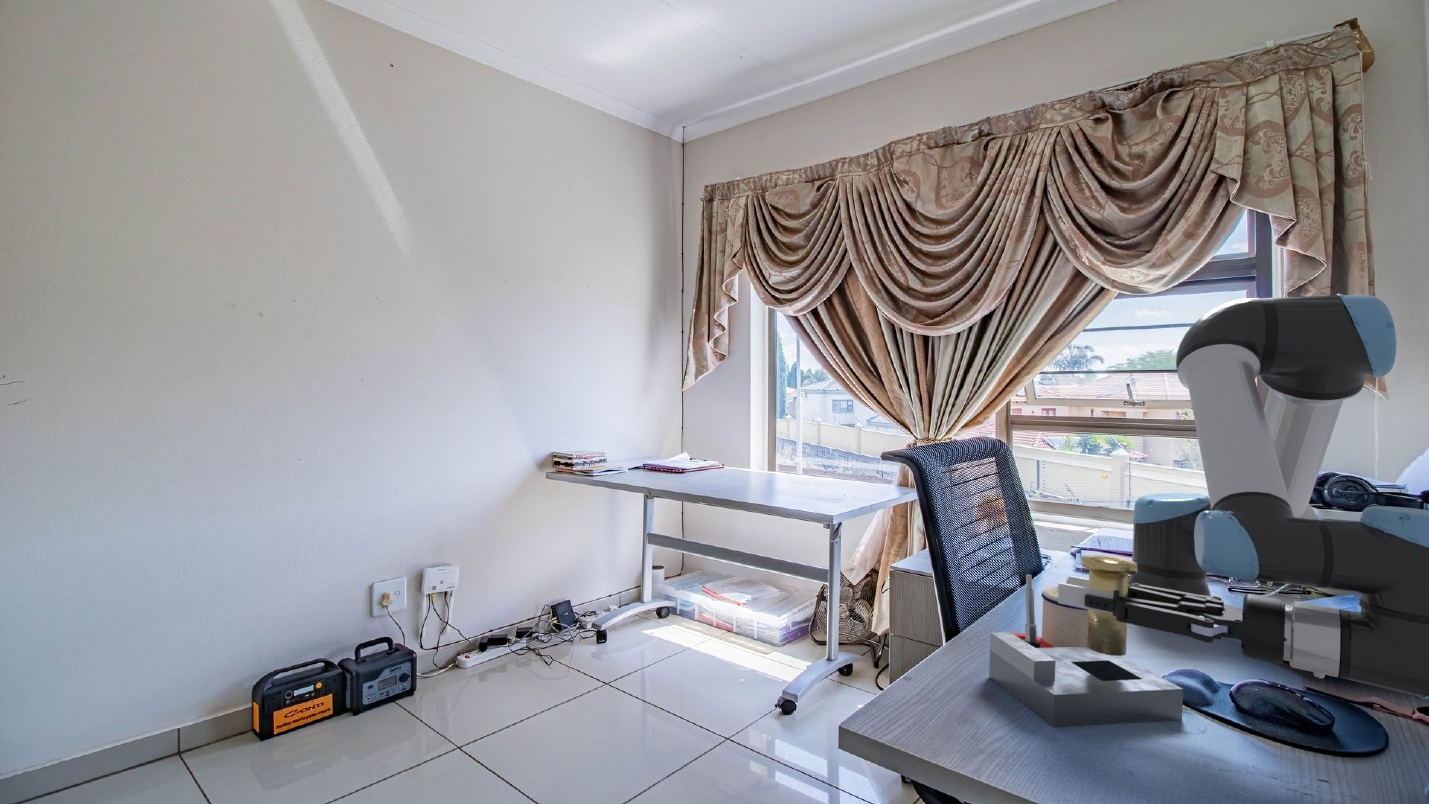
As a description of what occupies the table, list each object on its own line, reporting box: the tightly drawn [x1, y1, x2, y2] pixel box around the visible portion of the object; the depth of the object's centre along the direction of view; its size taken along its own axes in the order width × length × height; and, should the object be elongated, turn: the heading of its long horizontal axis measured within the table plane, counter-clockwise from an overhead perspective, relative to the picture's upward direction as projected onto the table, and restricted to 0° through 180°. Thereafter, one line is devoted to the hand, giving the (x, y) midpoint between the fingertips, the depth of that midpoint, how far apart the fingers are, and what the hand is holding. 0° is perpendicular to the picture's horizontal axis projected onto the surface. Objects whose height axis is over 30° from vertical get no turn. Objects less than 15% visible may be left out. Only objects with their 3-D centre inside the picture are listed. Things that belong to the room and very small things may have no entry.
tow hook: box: [1011, 574, 1052, 648], centre depth 104 cm, size 8×13×9 cm
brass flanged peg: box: [1081, 554, 1137, 657], centre depth 86 cm, size 6×6×12 cm
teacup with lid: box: [1041, 578, 1088, 648], centre depth 105 cm, size 12×9×12 cm
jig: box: [988, 631, 1184, 728], centre depth 87 cm, size 18×14×6 cm
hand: (1064, 588), depth 90 cm, fingers closed on brass flanged peg, 4 cm apart
